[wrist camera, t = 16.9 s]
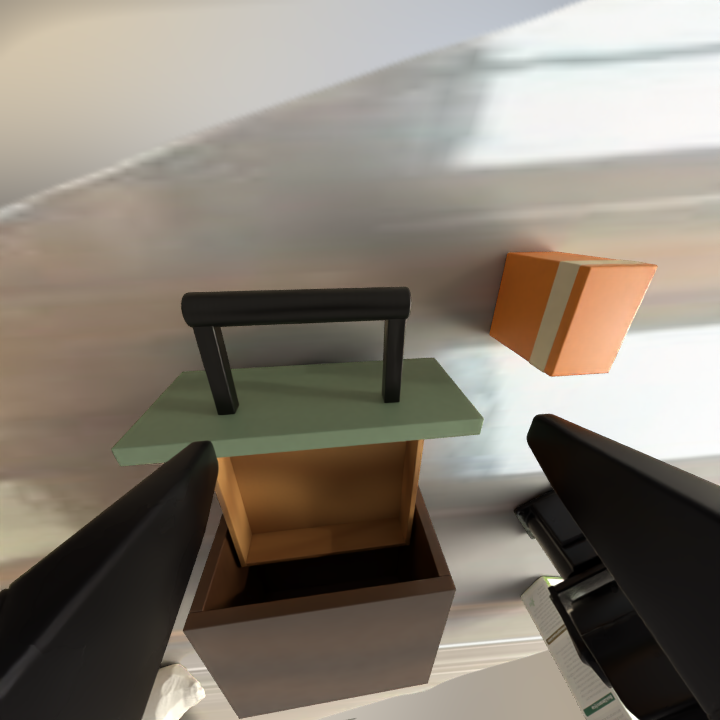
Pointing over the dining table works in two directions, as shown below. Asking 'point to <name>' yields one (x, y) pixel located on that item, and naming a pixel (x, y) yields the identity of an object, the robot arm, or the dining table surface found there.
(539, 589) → the syrup box
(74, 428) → the dining table surface
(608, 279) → the snack box
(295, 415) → the drawer
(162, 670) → the roll
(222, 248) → the dining table surface
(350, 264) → the dining table surface
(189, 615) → the organizer
